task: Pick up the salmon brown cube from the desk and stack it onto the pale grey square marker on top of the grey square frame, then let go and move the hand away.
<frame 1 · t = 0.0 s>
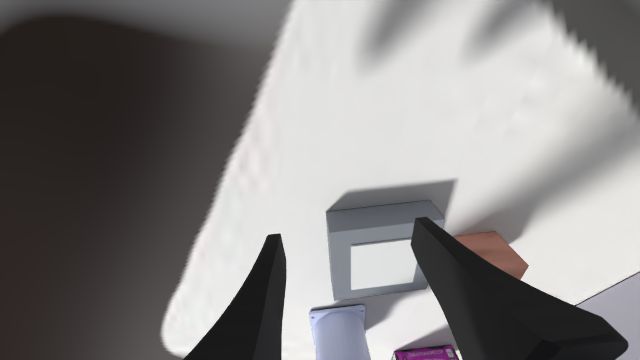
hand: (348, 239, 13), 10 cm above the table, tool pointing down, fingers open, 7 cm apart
salmon brown cube: (469, 247, 30), on the table
grey square frame: (375, 243, 28), on the table
game console: (590, 302, 41), on the table
candy bar box: (419, 351, 45), on the table
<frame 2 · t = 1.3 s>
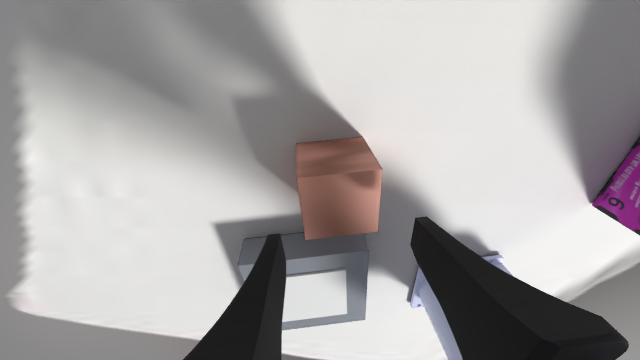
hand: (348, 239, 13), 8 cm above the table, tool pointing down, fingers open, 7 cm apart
salmon brown cube: (331, 168, 20), on the table
grey square frame: (308, 270, 26), on the table
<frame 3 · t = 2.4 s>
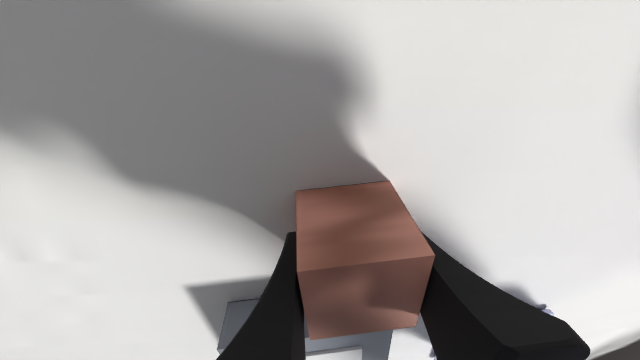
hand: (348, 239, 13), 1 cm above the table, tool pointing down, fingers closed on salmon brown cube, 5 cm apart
salmon brown cube: (344, 221, 14), on the table, touching gripper
grey square frame: (311, 331, 21), on the table
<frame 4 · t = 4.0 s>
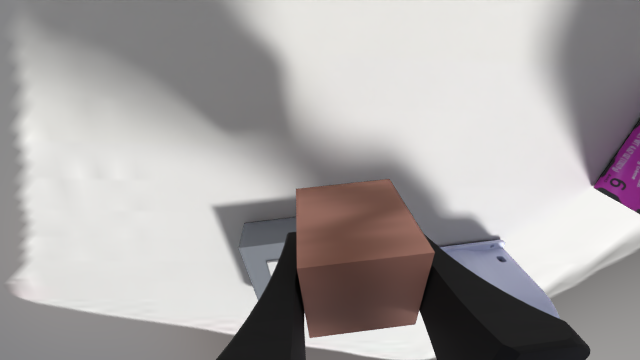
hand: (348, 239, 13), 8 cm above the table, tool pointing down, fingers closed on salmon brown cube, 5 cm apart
salmon brown cube: (343, 219, 14), point 7 cm above the table, touching gripper
grey square frame: (309, 255, 26), on the table
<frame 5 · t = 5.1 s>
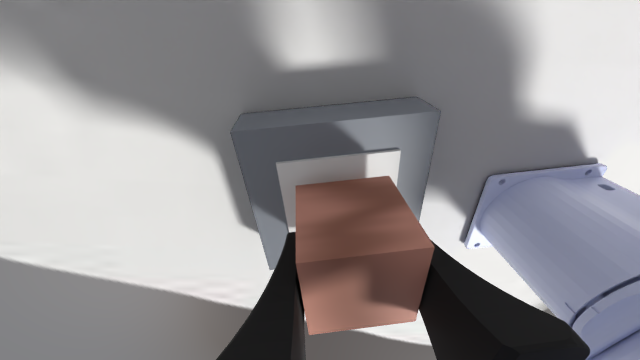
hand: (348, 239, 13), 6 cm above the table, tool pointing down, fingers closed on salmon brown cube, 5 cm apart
salmon brown cube: (343, 216, 14), point 4 cm above the table, touching gripper
grey square frame: (333, 179, 18), on the table
when the fingers open (6 cm above the table, at t = 6.0 s): salmon brown cube drops 1 cm, resting on grey square frame.
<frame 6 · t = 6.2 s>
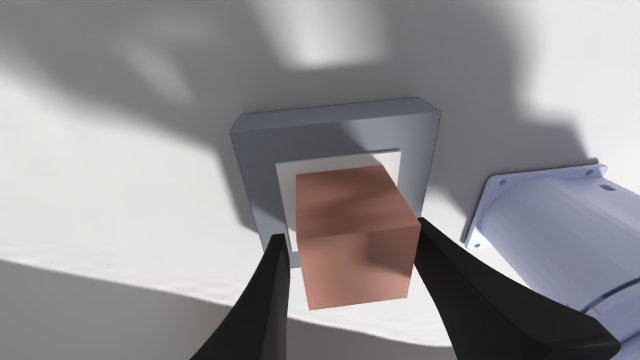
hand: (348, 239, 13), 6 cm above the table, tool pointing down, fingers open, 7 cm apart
salmon brown cube: (340, 204, 15), point 3 cm above the table, touching grey square frame
grey square frame: (333, 180, 18), on the table
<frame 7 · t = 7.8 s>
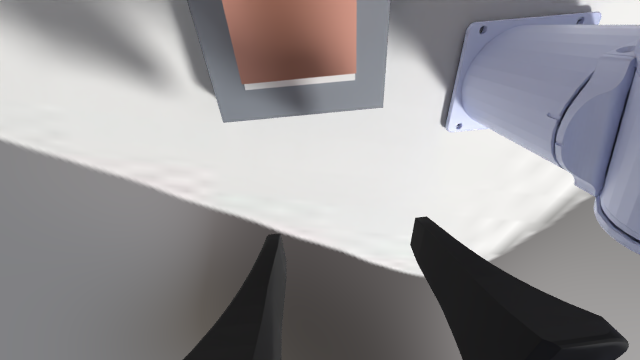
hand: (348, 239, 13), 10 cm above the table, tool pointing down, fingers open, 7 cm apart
salmon brown cube: (293, 13, 13), point 3 cm above the table, touching grey square frame
grey square frame: (294, 20, 16), on the table
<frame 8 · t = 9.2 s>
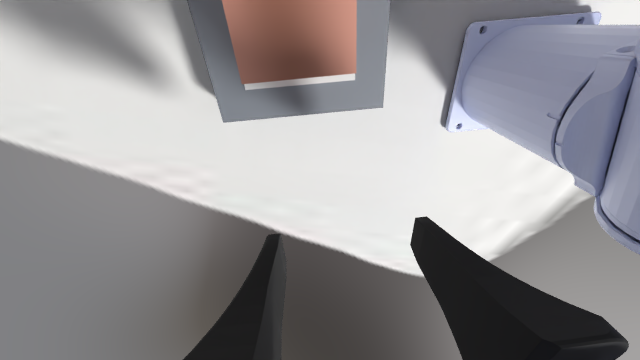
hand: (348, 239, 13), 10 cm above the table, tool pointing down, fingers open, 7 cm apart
salmon brown cube: (293, 13, 13), point 3 cm above the table, touching grey square frame
grey square frame: (294, 20, 16), on the table
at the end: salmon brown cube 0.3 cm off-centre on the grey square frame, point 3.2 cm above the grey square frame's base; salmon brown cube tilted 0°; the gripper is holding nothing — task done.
